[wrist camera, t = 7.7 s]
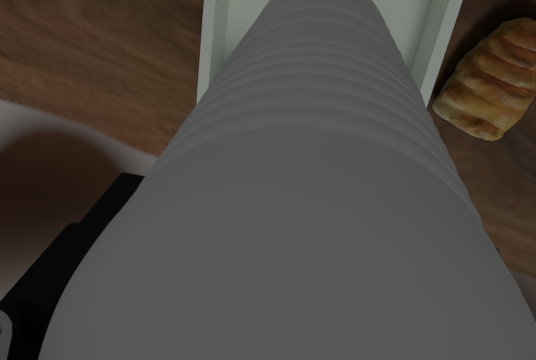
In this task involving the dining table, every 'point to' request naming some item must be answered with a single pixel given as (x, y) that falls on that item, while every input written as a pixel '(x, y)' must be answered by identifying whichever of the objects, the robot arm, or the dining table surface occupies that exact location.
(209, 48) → the bin
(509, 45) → the pastry
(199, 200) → the water bottle
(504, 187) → the dining table surface
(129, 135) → the dining table surface
